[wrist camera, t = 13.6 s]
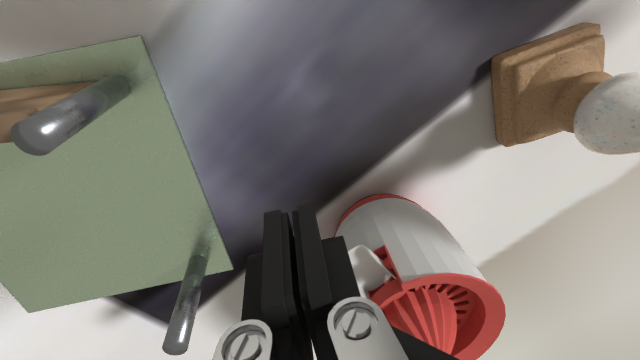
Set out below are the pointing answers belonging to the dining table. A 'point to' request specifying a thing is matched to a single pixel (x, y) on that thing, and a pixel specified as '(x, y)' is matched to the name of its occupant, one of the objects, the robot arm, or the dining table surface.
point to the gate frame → (103, 189)
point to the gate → (30, 103)
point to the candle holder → (565, 93)
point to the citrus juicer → (421, 276)
